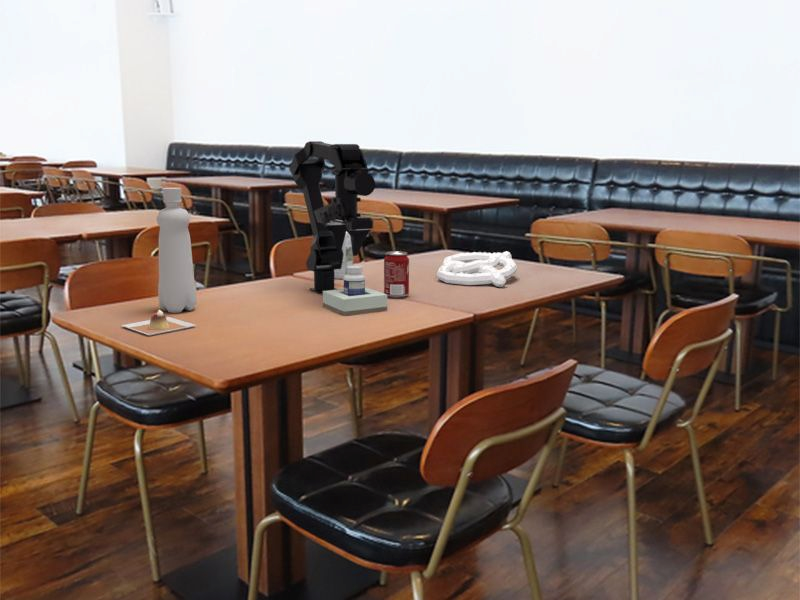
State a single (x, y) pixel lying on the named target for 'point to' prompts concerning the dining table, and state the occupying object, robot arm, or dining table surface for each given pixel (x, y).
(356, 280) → the pill bottle
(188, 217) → the bottle
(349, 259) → the syrup box
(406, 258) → the soda can
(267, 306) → the dining table surface
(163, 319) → the dessert
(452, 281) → the white coiled rope knot
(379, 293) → the bore block
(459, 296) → the dining table surface
